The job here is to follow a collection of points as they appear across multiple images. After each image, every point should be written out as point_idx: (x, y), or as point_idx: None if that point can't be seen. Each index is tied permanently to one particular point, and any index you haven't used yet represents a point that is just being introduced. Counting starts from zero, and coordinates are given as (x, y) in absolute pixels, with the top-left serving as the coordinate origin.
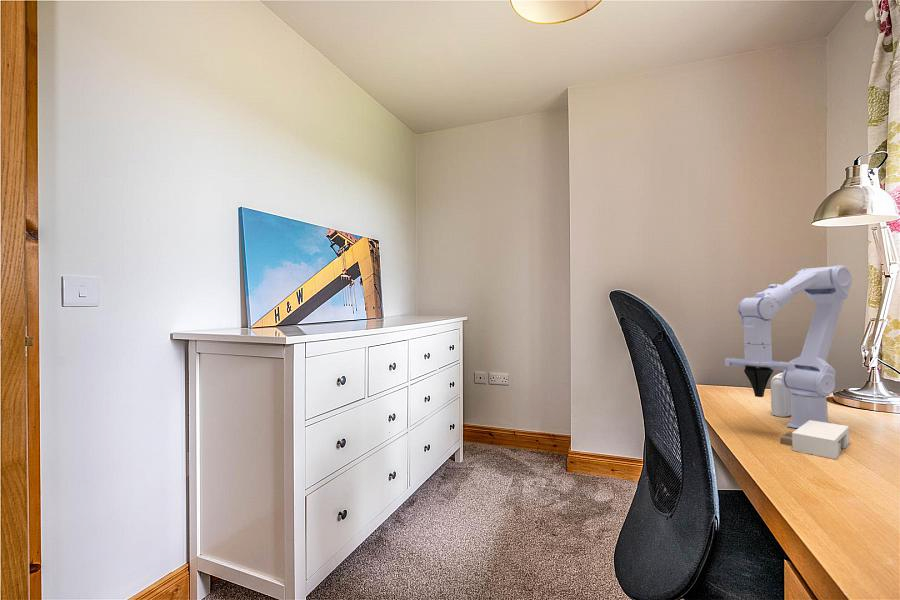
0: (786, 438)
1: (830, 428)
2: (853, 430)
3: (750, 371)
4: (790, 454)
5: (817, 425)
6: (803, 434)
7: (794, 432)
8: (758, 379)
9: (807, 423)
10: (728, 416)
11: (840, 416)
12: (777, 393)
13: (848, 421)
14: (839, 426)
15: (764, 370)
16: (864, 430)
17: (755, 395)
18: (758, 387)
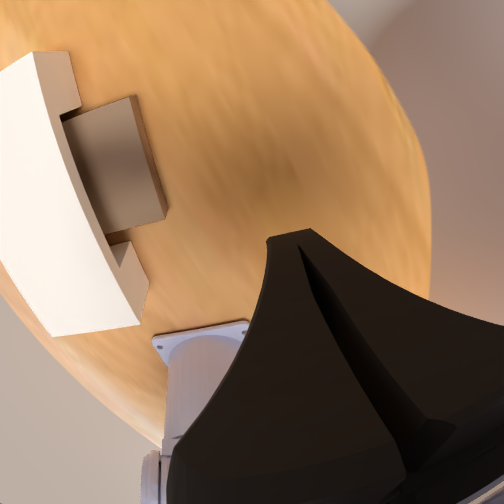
0: (107, 105)
1: (34, 267)
2: (152, 395)
3: (487, 387)
4: (54, 7)
5: (72, 271)
6: (3, 77)
7: (30, 67)
8: (317, 342)
9: (104, 271)
10: (411, 285)
11: None
12: None
13: None
14: (52, 316)
15: None
16: (145, 406)
17: (310, 230)
18: (298, 273)
